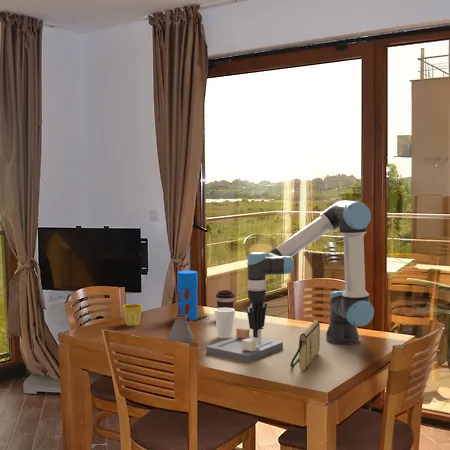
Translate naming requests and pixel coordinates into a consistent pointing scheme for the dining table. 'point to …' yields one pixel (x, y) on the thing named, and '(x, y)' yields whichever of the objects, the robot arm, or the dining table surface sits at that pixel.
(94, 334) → the dining table surface
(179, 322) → the coffee pot
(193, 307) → the thermos
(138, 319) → the plant pot
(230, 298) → the coffee cup
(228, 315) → the foam cup
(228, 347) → the slider panel
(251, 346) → the fader
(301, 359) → the clutch purse
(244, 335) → the fader
